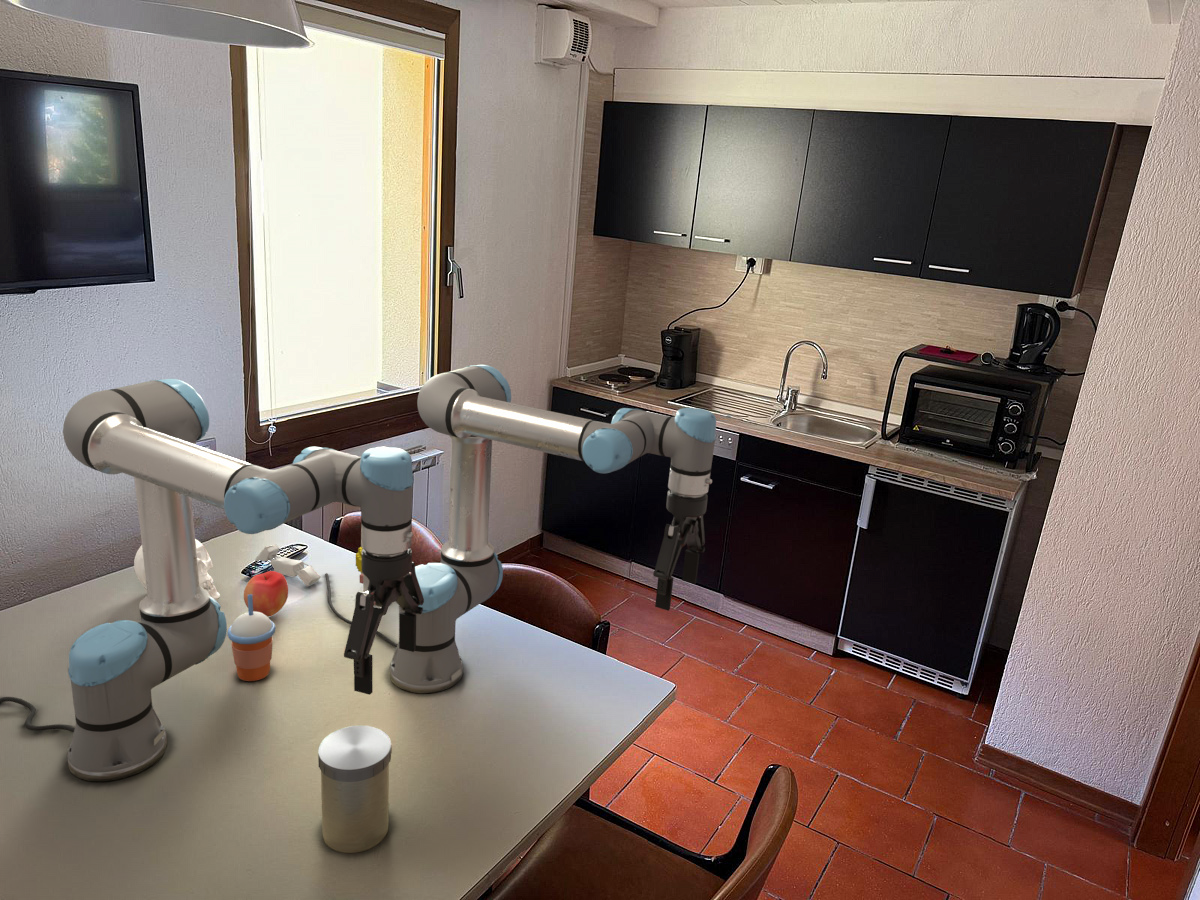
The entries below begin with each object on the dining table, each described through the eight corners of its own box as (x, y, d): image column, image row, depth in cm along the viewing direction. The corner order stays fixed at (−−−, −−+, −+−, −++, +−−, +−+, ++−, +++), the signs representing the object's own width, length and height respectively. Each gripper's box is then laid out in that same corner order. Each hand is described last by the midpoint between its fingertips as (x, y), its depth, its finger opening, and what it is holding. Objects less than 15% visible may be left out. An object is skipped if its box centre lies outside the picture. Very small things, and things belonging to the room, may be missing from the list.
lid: (302, 761, 133) (302, 748, 132) (359, 728, 142) (359, 716, 141) (350, 792, 127) (349, 779, 126) (406, 756, 136) (406, 744, 135)
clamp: (253, 565, 223) (254, 542, 221) (265, 560, 226) (266, 537, 224) (309, 593, 215) (310, 569, 213) (320, 588, 218) (321, 564, 216)
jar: (308, 832, 137) (306, 751, 132) (359, 798, 145) (359, 721, 140) (351, 863, 131) (350, 779, 127) (401, 826, 140) (402, 746, 135)
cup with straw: (261, 689, 172) (257, 609, 167) (220, 681, 174) (215, 601, 168) (285, 666, 181) (283, 589, 175) (246, 658, 182) (243, 582, 177)
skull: (199, 617, 197) (196, 553, 193) (122, 598, 203) (118, 535, 198) (238, 594, 209) (237, 534, 205) (165, 577, 215) (162, 518, 211)
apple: (273, 600, 207) (272, 562, 204) (297, 613, 202) (296, 575, 199) (237, 614, 200) (234, 575, 197) (261, 628, 194) (259, 588, 191)
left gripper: (364, 586, 118) (364, 717, 125) (446, 524, 141) (443, 638, 148) (317, 575, 120) (320, 705, 127) (405, 516, 143) (404, 629, 150)
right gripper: (681, 516, 147) (669, 626, 153) (728, 478, 168) (716, 576, 174) (642, 506, 150) (631, 614, 156) (693, 470, 171) (682, 566, 178)
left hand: (386, 669), depth 137 cm, fingers open, 13 cm apart
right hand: (676, 594), depth 165 cm, fingers open, 13 cm apart
